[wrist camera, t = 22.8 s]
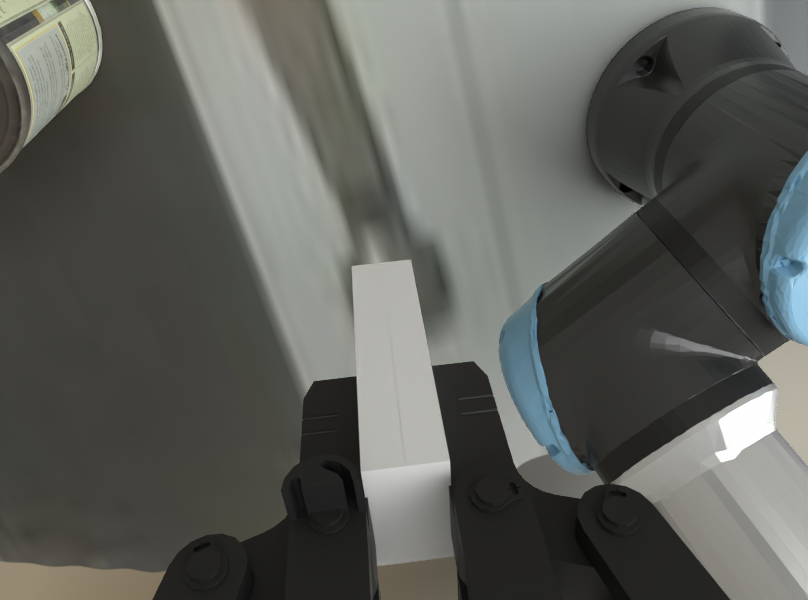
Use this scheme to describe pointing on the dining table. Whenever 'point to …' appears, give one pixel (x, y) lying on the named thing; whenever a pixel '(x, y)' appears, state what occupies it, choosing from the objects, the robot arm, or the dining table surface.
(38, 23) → the coffee can
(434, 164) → the dining table surface
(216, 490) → the dining table surface
